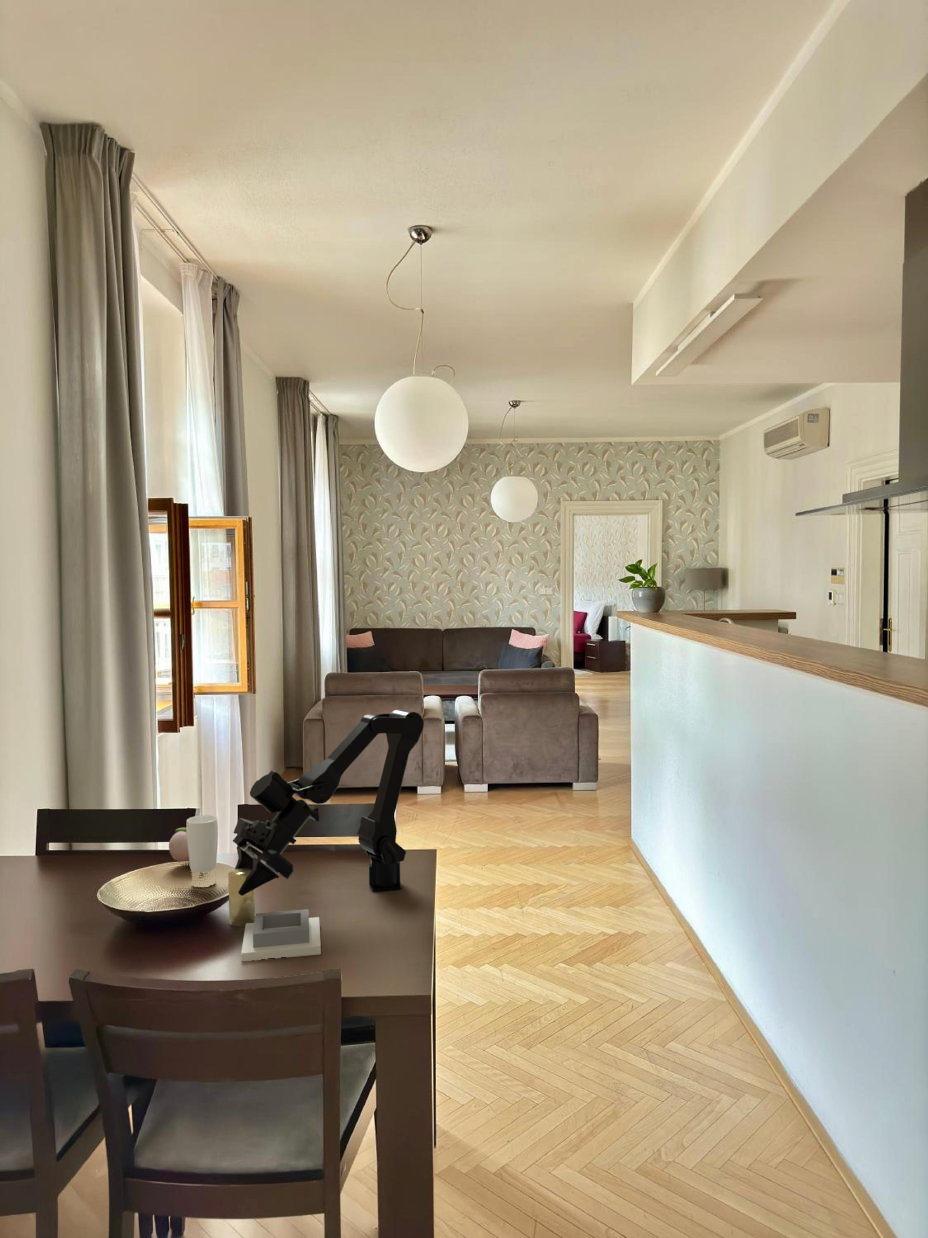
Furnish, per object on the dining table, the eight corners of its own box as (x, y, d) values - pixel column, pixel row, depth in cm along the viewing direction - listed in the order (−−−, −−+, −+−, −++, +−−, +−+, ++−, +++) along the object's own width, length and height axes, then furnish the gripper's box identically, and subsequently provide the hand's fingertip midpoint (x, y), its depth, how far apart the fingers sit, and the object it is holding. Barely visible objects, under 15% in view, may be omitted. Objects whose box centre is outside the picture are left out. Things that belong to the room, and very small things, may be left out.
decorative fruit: (161, 870, 205) (159, 828, 204) (183, 859, 212) (182, 819, 212) (193, 874, 202) (192, 831, 201) (215, 863, 209) (214, 822, 209)
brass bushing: (255, 916, 175) (254, 867, 175) (254, 925, 171) (253, 875, 170) (230, 918, 174) (229, 869, 174) (228, 927, 170) (227, 877, 169)
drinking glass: (200, 892, 189) (198, 824, 189) (181, 886, 194) (179, 820, 193) (225, 883, 195) (223, 817, 194) (207, 877, 199) (205, 813, 198)
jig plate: (319, 924, 170) (318, 904, 170) (320, 954, 157) (320, 932, 156) (246, 931, 168) (245, 910, 168) (241, 961, 154) (240, 939, 154)
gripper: (240, 794, 181) (190, 856, 175) (277, 812, 166) (222, 881, 160) (277, 824, 186) (228, 886, 180) (315, 845, 171) (264, 913, 165)
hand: (234, 890), depth 171 cm, fingers closed on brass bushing, 5 cm apart
